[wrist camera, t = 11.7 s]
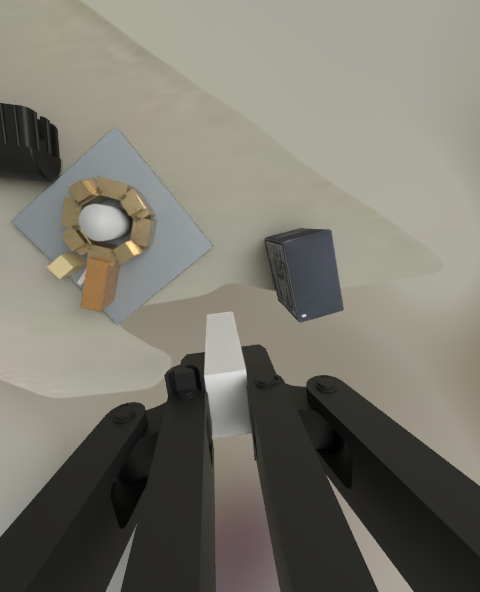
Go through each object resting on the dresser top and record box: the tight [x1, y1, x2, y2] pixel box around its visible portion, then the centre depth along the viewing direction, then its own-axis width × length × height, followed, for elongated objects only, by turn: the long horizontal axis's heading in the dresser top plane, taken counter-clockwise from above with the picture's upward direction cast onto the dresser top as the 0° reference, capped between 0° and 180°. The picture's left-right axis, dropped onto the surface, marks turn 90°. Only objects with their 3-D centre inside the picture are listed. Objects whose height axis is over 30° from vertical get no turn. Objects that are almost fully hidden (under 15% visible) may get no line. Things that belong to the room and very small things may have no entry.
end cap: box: [0, 103, 61, 181], centre depth 32 cm, size 10×7×7 cm
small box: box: [265, 228, 344, 323], centre depth 38 cm, size 11×6×10 cm, turn 14°
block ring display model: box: [11, 127, 213, 324], centre depth 35 cm, size 19×18×8 cm
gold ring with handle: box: [61, 176, 157, 312], centre depth 35 cm, size 16×10×5 cm, turn 165°
